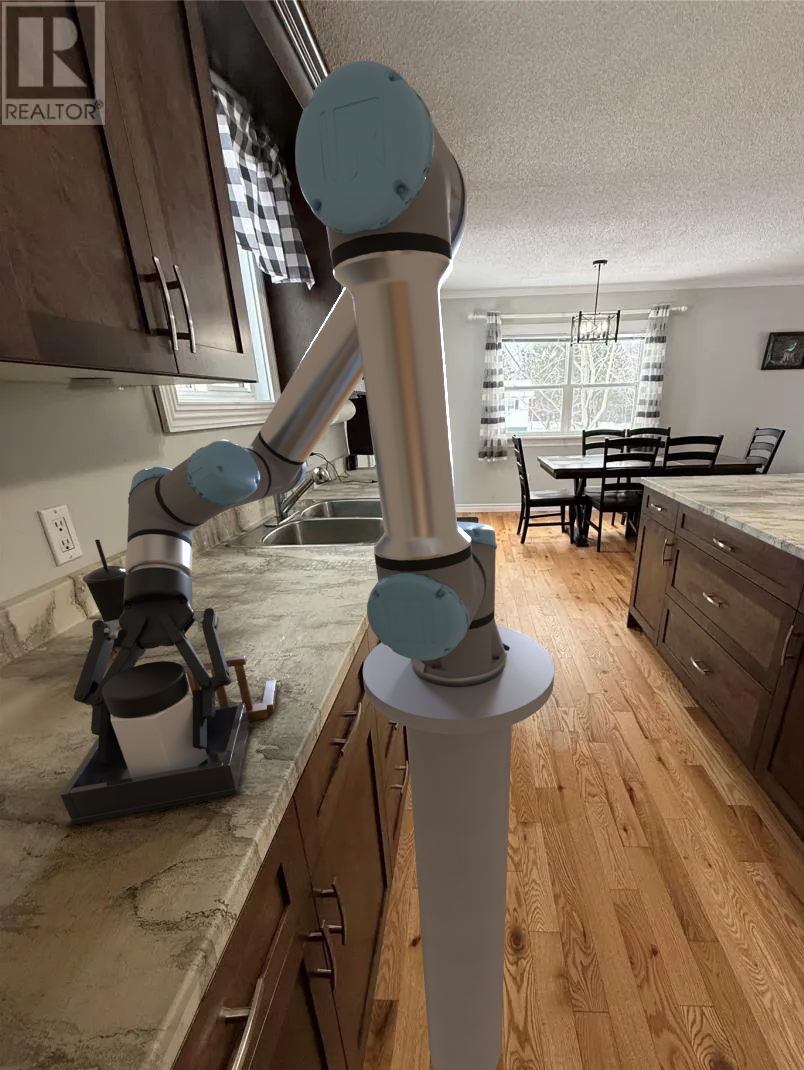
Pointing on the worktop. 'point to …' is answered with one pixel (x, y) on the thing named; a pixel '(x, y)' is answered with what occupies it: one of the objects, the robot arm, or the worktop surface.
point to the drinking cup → (108, 591)
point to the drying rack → (252, 710)
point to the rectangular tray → (161, 775)
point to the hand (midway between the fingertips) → (154, 755)
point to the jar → (153, 718)
